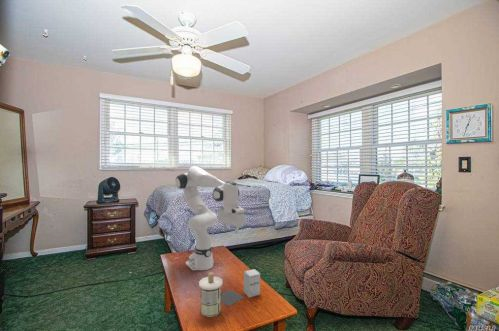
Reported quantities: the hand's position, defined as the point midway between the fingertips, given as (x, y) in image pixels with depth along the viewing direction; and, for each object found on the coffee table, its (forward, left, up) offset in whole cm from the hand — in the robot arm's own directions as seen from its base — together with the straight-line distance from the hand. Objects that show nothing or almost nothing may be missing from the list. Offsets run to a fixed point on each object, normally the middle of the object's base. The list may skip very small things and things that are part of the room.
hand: (230, 231), depth 145 cm
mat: (+7, -7, -35) cm, 36 cm away
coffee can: (+9, -22, -35) cm, 43 cm away
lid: (+9, -22, -21) cm, 32 cm away
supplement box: (+13, +5, -35) cm, 38 cm away
